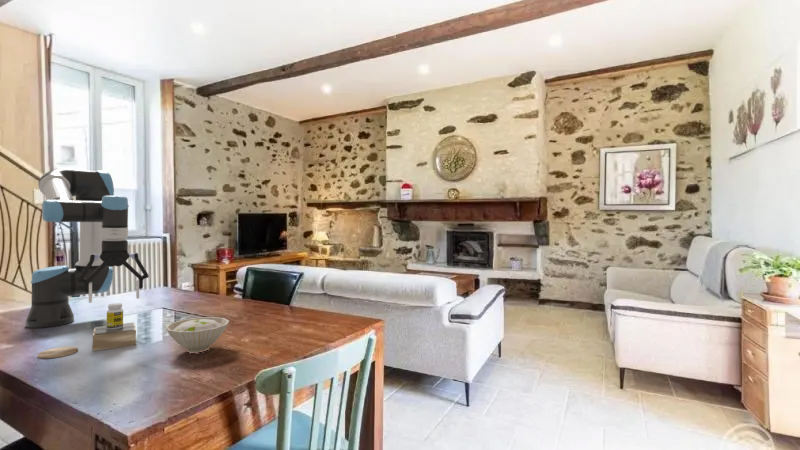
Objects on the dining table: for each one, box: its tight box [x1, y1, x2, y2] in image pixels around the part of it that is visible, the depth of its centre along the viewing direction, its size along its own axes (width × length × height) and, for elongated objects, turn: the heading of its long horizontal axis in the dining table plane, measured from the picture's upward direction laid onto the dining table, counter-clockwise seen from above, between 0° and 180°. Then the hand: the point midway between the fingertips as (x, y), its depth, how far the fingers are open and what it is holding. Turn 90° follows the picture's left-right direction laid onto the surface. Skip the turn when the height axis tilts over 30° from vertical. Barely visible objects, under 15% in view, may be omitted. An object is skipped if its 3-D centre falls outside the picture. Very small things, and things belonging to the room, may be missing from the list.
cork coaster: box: [37, 346, 79, 360], centre depth 130 cm, size 10×10×1 cm
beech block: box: [92, 322, 137, 352], centre depth 141 cm, size 12×12×5 cm
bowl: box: [165, 316, 230, 352], centre depth 135 cm, size 19×19×10 cm
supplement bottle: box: [106, 302, 124, 330], centre depth 141 cm, size 5×5×8 cm
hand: (114, 299), depth 141 cm, fingers open, 13 cm apart
